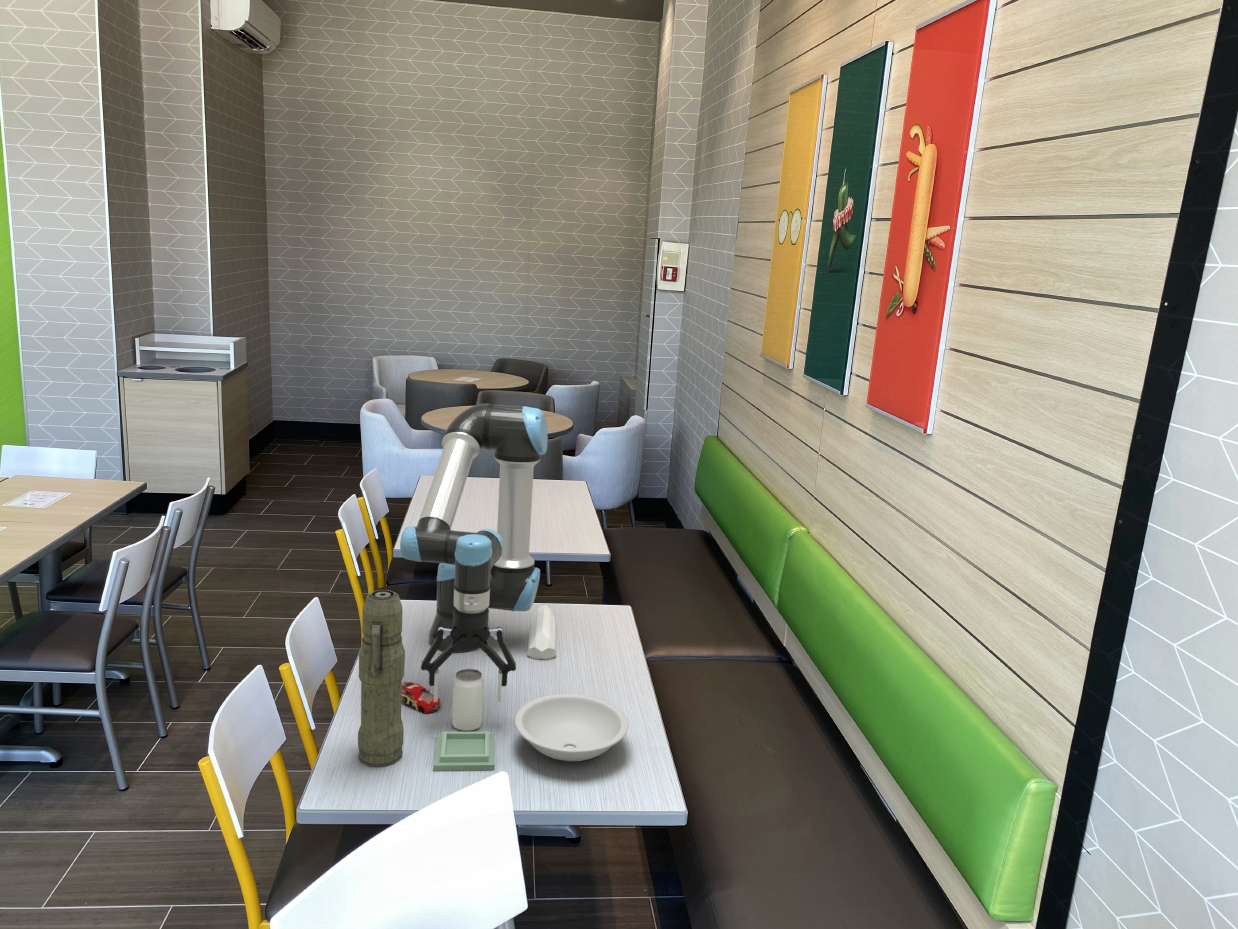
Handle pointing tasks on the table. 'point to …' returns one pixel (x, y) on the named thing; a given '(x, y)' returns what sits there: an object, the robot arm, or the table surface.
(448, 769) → the baseplate
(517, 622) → the table surface
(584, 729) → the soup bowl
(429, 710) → the race car
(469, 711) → the can
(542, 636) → the crystal
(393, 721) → the thermos
